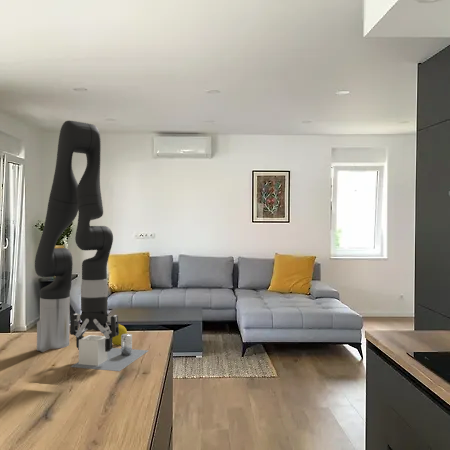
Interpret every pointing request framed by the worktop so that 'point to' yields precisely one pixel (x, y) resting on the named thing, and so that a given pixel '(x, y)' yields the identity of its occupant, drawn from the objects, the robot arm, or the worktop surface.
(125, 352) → the silver metal capsule
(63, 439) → the worktop surface
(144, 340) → the worktop surface
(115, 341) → the lemon
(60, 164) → the robot arm
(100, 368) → the duct base
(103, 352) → the duct collar
